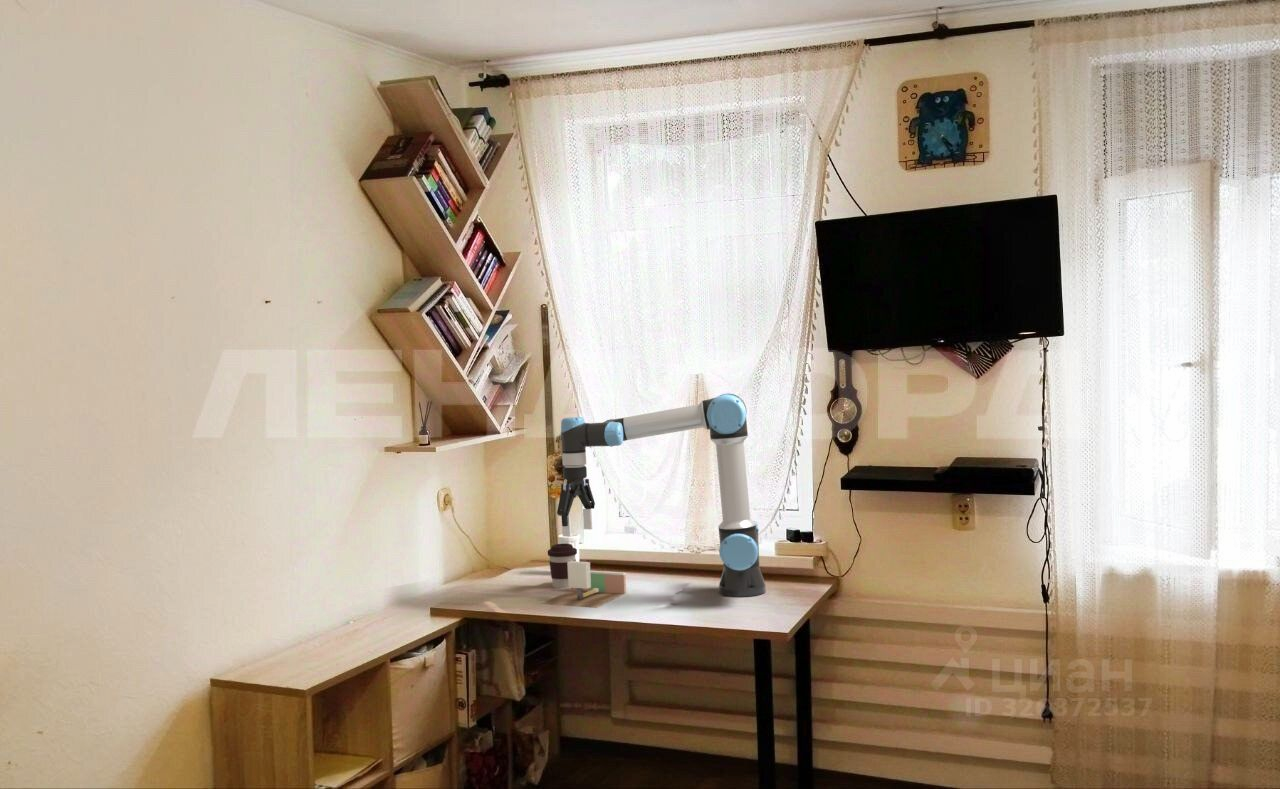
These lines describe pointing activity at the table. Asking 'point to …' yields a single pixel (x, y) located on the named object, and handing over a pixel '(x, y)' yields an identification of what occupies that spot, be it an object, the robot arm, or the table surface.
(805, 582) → the table surface
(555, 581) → the coffee cup
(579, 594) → the white block with rod
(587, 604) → the board
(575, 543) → the cup
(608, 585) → the scale wall
